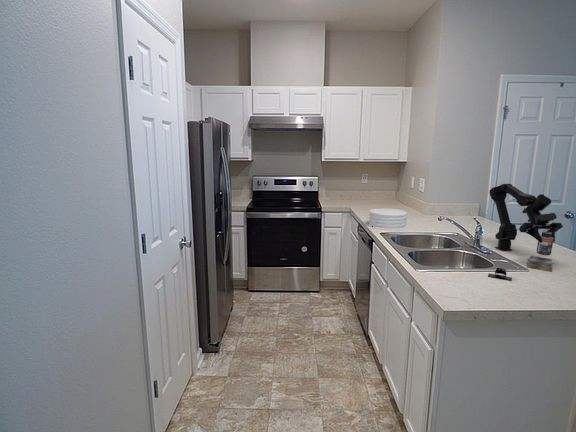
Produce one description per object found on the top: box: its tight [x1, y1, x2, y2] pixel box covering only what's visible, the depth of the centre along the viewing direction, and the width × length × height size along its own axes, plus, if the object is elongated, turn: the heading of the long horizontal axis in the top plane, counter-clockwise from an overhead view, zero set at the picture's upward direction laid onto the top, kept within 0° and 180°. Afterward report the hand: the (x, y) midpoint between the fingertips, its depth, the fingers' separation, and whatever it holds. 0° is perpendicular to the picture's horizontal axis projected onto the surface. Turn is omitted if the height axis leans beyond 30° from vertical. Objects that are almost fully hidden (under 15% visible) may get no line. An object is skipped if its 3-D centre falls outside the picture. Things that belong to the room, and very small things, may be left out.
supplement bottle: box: [536, 231, 554, 256], centre depth 166 cm, size 6×6×11 cm
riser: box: [526, 255, 554, 273], centre depth 168 cm, size 10×10×4 cm
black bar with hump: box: [487, 267, 513, 282], centre depth 154 cm, size 12×7×5 cm, turn 56°
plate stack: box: [368, 207, 408, 230], centre depth 258 cm, size 28×28×12 cm
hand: (547, 241), depth 164 cm, fingers closed on supplement bottle, 6 cm apart
